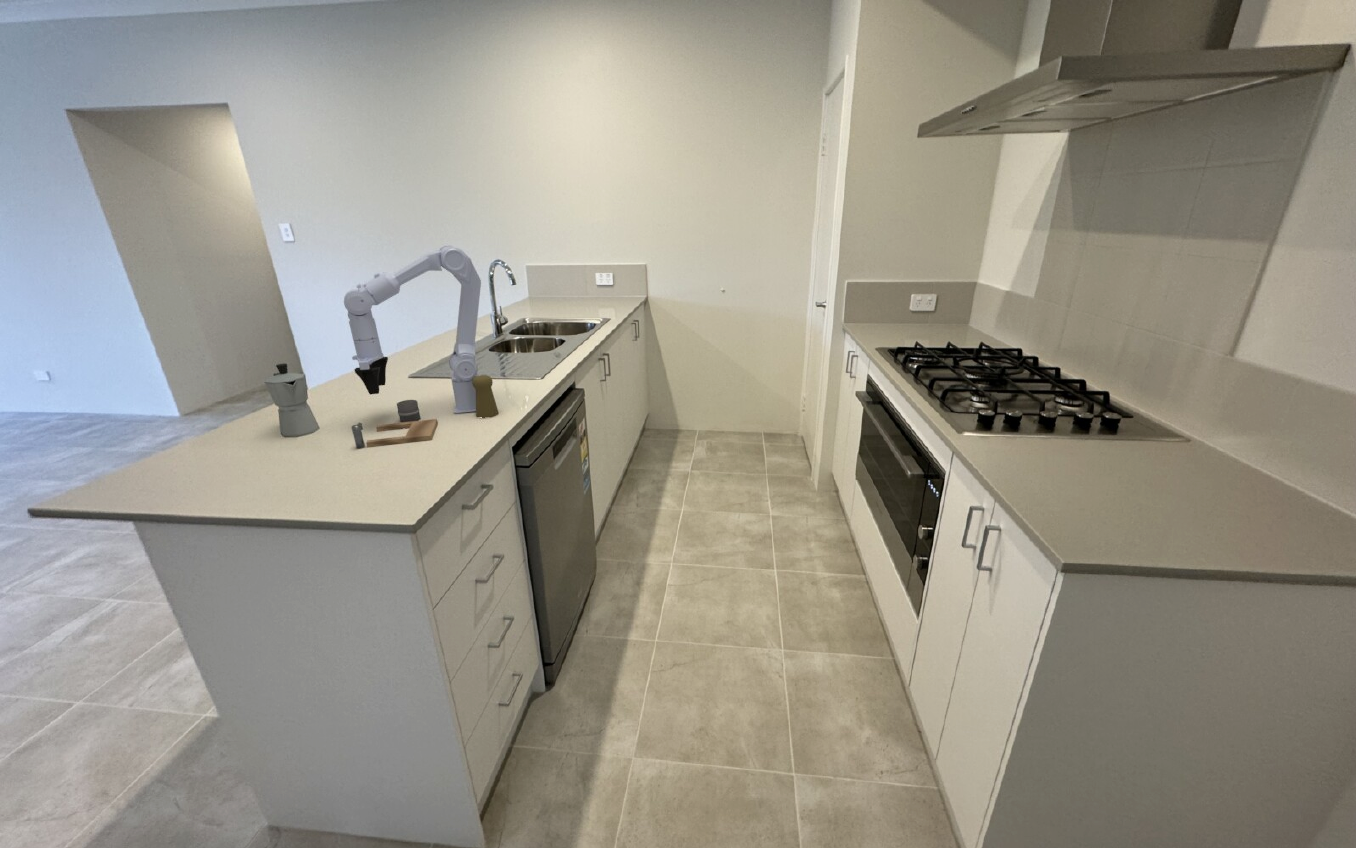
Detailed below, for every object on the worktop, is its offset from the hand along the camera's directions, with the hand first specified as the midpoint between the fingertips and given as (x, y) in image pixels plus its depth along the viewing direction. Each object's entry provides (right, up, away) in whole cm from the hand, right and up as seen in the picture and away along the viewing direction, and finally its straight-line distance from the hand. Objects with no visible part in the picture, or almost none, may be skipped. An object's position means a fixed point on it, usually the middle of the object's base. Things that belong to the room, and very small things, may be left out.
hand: (377, 389), depth 145 cm
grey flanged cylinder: (+6, -8, +5) cm, 11 cm away
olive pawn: (+26, -7, +8) cm, 28 cm away
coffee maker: (-20, -11, -1) cm, 23 cm away
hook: (+2, -14, -11) cm, 18 cm away
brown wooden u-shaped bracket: (+10, -12, -5) cm, 16 cm away
